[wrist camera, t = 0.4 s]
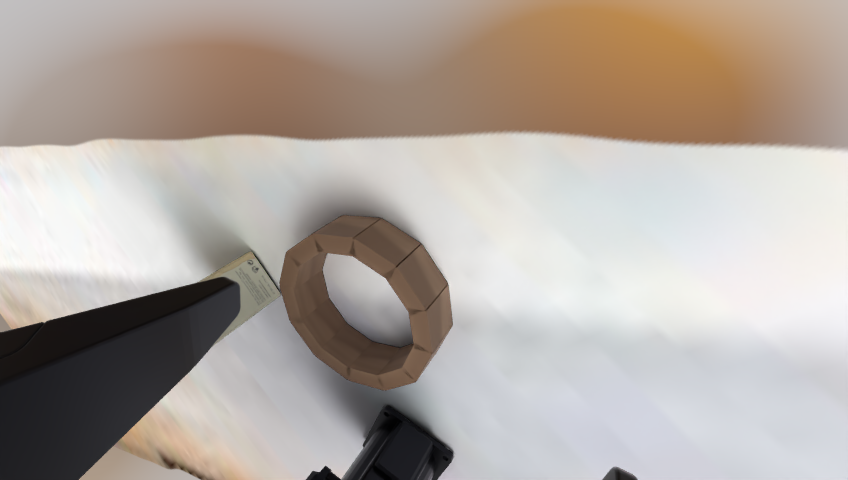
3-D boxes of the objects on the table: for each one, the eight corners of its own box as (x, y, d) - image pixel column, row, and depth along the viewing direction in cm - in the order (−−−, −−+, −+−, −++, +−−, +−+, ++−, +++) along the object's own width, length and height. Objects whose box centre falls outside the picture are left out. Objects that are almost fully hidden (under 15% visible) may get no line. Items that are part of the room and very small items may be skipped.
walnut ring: (416, 386, 32) (396, 415, 30) (298, 301, 35) (270, 322, 32) (479, 280, 26) (459, 307, 24) (329, 184, 28) (297, 200, 26)
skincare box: (253, 248, 34) (89, 341, 25) (284, 296, 35) (137, 404, 26) (216, 272, 38) (61, 360, 29) (245, 314, 39) (103, 415, 29)
